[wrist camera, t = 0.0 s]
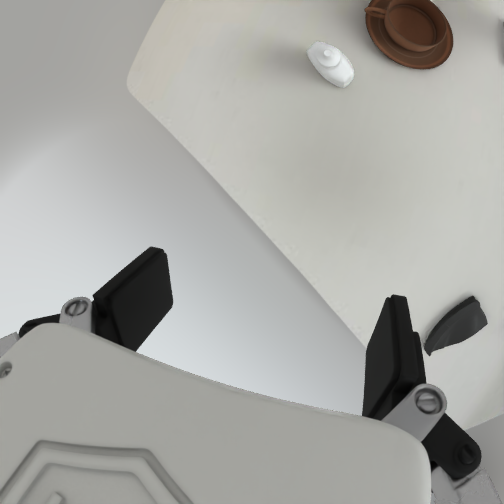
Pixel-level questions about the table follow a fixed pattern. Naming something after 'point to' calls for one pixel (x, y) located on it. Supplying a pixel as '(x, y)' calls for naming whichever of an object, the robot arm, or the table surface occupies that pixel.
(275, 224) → the table surface
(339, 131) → the table surface
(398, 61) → the cup and saucer
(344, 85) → the eye dropper bottle
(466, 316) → the fan shaped piece
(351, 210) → the table surface
